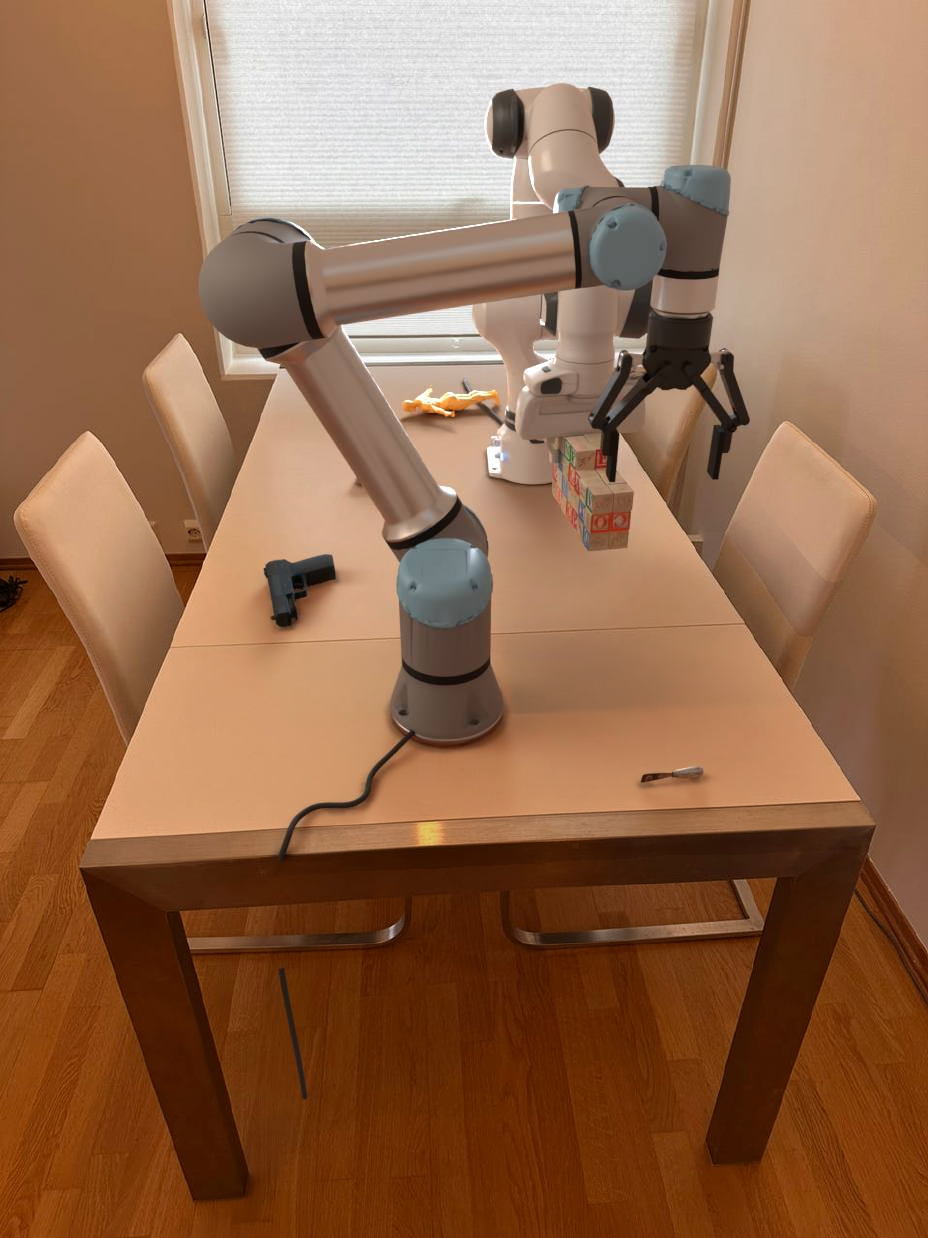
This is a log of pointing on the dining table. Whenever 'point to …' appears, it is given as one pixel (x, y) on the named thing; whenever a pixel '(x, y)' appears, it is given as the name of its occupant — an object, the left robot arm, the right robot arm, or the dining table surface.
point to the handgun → (295, 583)
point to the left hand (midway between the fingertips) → (661, 477)
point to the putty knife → (674, 774)
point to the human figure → (448, 402)
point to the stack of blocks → (591, 493)
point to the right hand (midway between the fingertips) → (577, 460)
